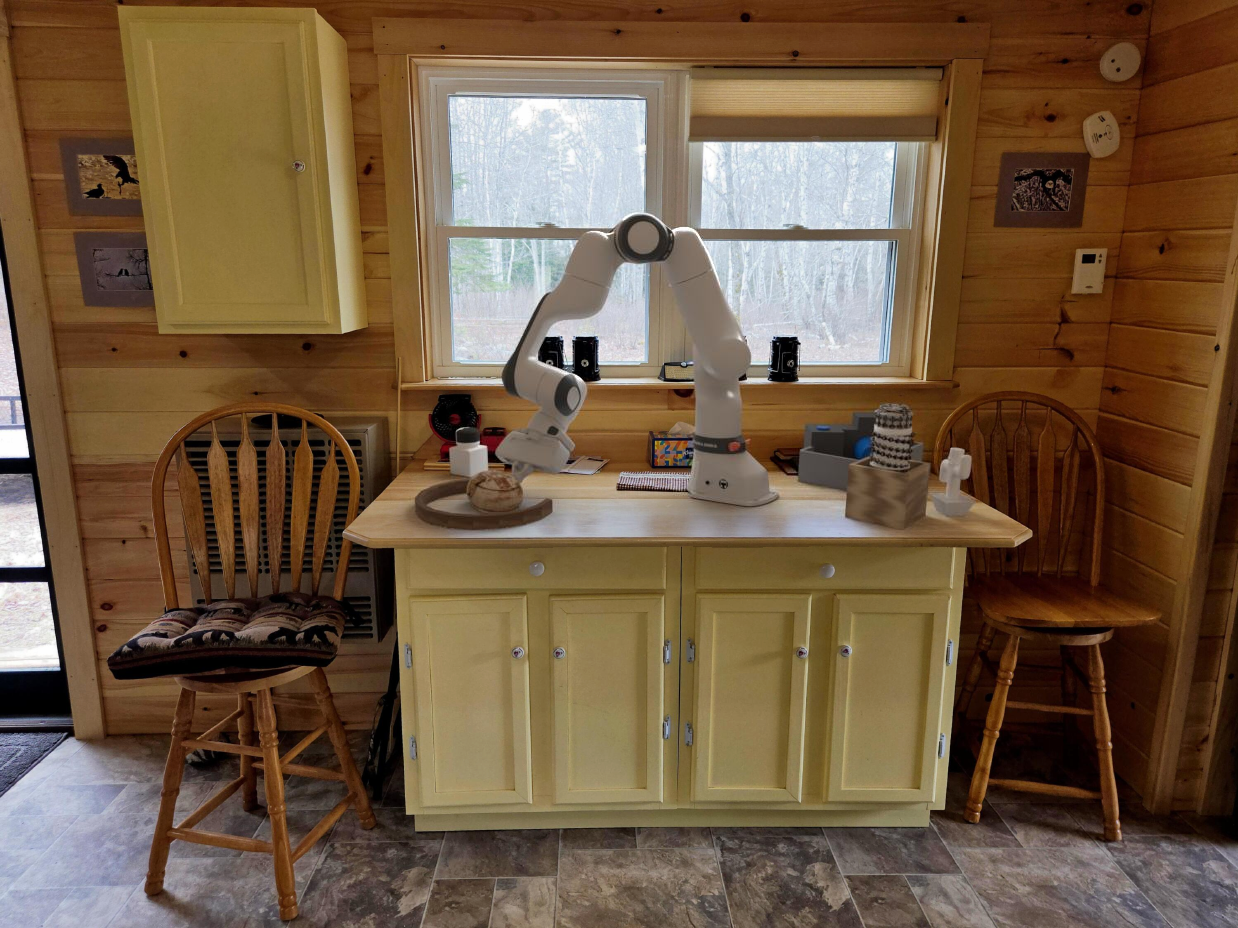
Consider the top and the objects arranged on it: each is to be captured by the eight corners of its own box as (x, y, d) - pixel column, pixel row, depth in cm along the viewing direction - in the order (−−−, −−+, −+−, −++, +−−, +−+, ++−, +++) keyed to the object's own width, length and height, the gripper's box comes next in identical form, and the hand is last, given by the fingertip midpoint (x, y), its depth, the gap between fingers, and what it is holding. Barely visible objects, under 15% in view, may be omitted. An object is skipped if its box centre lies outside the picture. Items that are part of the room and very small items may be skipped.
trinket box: (484, 494, 198) (483, 462, 196) (538, 502, 192) (537, 469, 190) (451, 509, 186) (449, 476, 184) (507, 518, 180) (506, 483, 178)
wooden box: (925, 515, 183) (930, 463, 180) (901, 529, 174) (907, 474, 171) (870, 503, 191) (874, 453, 188) (844, 516, 182) (848, 464, 179)
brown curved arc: (558, 513, 183) (558, 500, 183) (475, 540, 166) (475, 526, 165) (469, 488, 203) (469, 476, 202) (387, 509, 186) (386, 496, 185)
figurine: (954, 506, 190) (961, 443, 186) (976, 518, 181) (984, 452, 177) (924, 507, 189) (931, 443, 185) (945, 520, 180) (953, 453, 176)
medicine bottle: (488, 471, 218) (487, 427, 215) (470, 477, 212) (468, 432, 209) (468, 468, 222) (466, 424, 219) (449, 473, 216) (447, 429, 213)
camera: (812, 483, 210) (816, 422, 206) (802, 467, 226) (805, 411, 222) (911, 485, 209) (917, 424, 205) (894, 469, 224) (900, 412, 220)
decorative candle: (902, 525, 176) (913, 410, 170) (859, 518, 181) (868, 406, 175) (910, 513, 184) (921, 404, 178) (868, 507, 189) (877, 400, 182)
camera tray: (922, 472, 219) (925, 443, 217) (874, 496, 197) (876, 464, 195) (848, 459, 233) (851, 431, 231) (796, 480, 211) (798, 450, 209)
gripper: (507, 420, 202) (478, 465, 197) (566, 432, 189) (536, 481, 184) (521, 434, 206) (493, 480, 202) (580, 447, 193) (551, 496, 189)
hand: (514, 480), depth 193 cm, fingers closed
